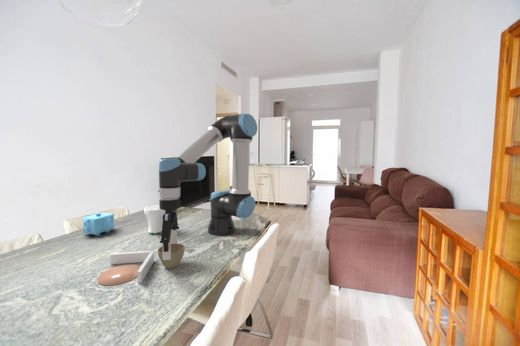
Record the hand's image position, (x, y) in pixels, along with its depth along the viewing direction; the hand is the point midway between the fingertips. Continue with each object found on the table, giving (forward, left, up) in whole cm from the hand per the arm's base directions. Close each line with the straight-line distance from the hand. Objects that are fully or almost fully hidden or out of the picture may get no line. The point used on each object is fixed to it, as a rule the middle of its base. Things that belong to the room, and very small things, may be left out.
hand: (170, 251), depth 90 cm
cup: (+16, -41, -6) cm, 45 cm away
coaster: (+17, +4, -6) cm, 18 cm away
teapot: (+47, -46, -6) cm, 66 cm away
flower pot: (0, 0, -6) cm, 6 cm away
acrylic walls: (+16, +2, -6) cm, 17 cm away
